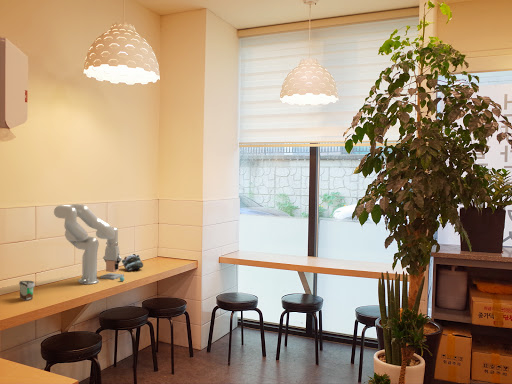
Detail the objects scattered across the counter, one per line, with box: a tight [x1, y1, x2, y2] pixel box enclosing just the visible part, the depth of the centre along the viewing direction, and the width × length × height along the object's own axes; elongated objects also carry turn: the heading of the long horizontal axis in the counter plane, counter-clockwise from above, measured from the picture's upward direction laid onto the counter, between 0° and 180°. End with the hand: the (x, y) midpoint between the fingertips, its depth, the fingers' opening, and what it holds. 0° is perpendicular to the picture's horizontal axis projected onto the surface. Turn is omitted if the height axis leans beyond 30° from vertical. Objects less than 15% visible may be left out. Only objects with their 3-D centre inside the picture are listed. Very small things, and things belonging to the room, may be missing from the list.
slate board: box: [99, 272, 125, 280], centre depth 341 cm, size 12×12×1 cm
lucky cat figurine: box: [121, 253, 144, 272], centre depth 367 cm, size 15×12×14 cm
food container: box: [18, 280, 36, 302], centre depth 279 cm, size 12×6×10 cm, turn 48°
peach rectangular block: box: [105, 260, 120, 273], centre depth 341 cm, size 6×6×8 cm
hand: (112, 268), depth 341 cm, fingers closed on peach rectangular block, 6 cm apart
